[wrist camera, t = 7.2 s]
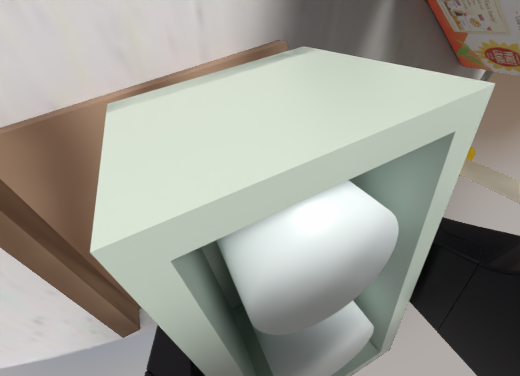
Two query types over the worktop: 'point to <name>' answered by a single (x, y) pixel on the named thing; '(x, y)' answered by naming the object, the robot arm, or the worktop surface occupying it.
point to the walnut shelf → (74, 194)
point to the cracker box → (482, 32)
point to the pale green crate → (282, 205)
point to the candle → (490, 178)
